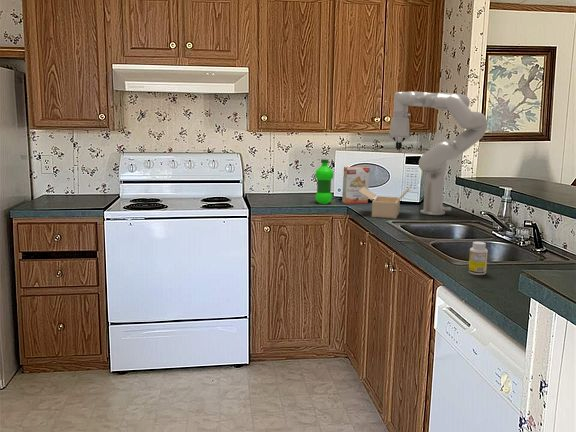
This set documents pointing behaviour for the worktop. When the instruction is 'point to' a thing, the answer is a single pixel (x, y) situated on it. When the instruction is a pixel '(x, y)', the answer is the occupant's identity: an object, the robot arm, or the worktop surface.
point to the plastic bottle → (324, 183)
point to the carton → (385, 207)
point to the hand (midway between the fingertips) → (398, 149)
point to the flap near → (404, 193)
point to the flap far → (367, 193)
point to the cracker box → (355, 184)
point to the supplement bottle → (478, 258)
